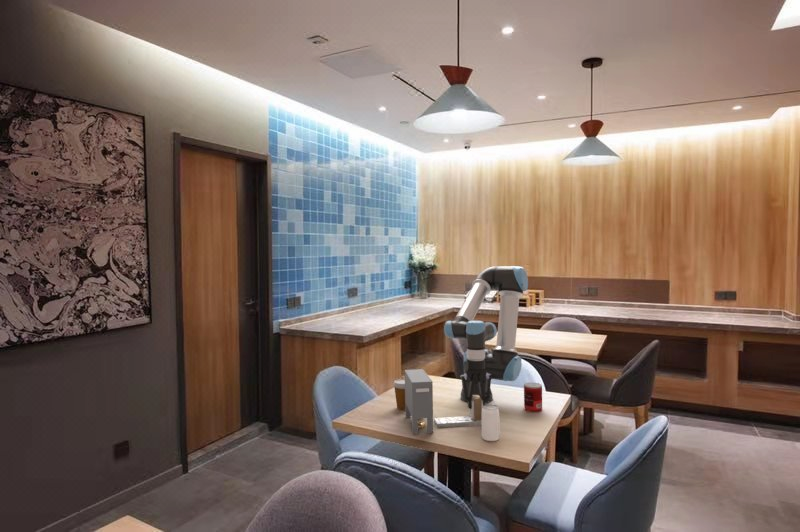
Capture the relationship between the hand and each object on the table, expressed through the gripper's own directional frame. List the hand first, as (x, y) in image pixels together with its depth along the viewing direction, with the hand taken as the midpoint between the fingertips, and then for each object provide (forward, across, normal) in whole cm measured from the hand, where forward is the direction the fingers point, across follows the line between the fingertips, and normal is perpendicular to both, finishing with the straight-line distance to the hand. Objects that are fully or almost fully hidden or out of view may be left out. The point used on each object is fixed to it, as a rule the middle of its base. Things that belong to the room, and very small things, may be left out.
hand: (476, 415), depth 197 cm
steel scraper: (+3, +7, 0) cm, 8 cm away
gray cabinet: (+3, +24, -2) cm, 24 cm away
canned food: (+3, -29, -12) cm, 32 cm away
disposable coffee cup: (+3, +27, -24) cm, 36 cm away
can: (+3, 0, +18) cm, 18 cm away
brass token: (+3, +24, 0) cm, 24 cm away
